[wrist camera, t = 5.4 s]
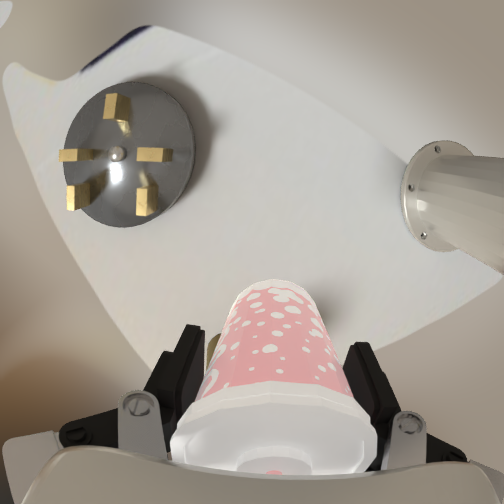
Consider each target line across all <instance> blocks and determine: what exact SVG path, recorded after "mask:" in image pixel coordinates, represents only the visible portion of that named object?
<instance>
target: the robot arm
mask: <svg viewBox="0 0 504 504" xmlns="http://www.w3.org/2000/svg"><path fill="white" fill-rule="evenodd" d="M434 148H435V149H434ZM408 185H409V189H408ZM401 207H402V213H403V216H404V220H405V222H406V224H407V227H408V229H409V231H410V232H411V233H412V235H413V236H414V238H416V239H417V240H418V241H419V242H420V243H421V244H423V245H424V246H426V247H427V248H429V249H432V250H434V251H438V252H451V251H454V250H456V249H460V250H462V251H463V252H465V253H467V254H469V255H470V256H472V257H474V258H476V259H477V260H479V261H481V262H483V263H484V264H486V265H488V266H489V267H491V268H493V269H494V270H496V271H498V272H499V273H501V274H502V275H504V158H496V157H484V156H483V157H482V156H474V155H473V154H472V153H471V152H470V151H469V150H468V149H467V148H466V147H464V146H462V145H461V144H459V143H456V142H452V141H436V142H432V143H429V144H427V145H425V146H424V147H422V148H421V149H420V150H419V151H418V152H417V153H416V154H415V155H414V156H413V158H412V159H411V161H410V162H409V164H408V166H407V168H406V171H405V173H404V176H403V181H402V186H401ZM204 343H205V331H204V330H201V329H200V326H196V325H189V324H187V325H186V327H185V329H184V331H183V333H182V335H181V337H180V339H179V341H178V344H177V346H176V348H175V350H174V352H169V351H163V353H162V354H161V356H160V358H159V360H158V362H157V364H156V366H155V368H154V370H153V372H152V374H151V376H150V378H149V380H148V382H147V384H146V386H145V388H144V390H143V391H141V390H135V391H130V392H128V393H126V394H124V395H123V396H122V397H121V398H120V400H119V403H118V408H116V409H113V410H110V411H107V412H103V413H100V414H97V415H93V416H89V417H86V418H82V419H78V420H75V421H71V422H69V423H66V424H65V425H64V426H62V428H61V429H60V431H59V432H58V433H53V431H48V432H43V433H38V434H33V435H28V436H22V437H17V438H12V439H9V440H8V441H6V442H5V443H4V446H3V452H2V453H3V458H4V464H5V468H6V472H7V477H8V481H9V485H10V489H11V493H12V496H13V500H14V503H15V504H502V500H503V497H504V474H503V473H501V472H499V471H497V470H494V469H492V468H490V467H487V466H485V465H482V464H480V463H477V462H475V461H473V460H470V461H469V462H468V461H467V458H466V456H465V454H464V453H463V452H462V451H461V450H460V449H458V448H456V447H454V446H452V445H450V444H448V443H445V442H444V441H442V440H440V439H438V438H436V437H434V436H432V435H430V434H428V433H426V422H425V421H424V419H423V418H422V417H421V416H420V415H419V414H417V413H415V412H412V411H401V409H400V406H399V404H398V402H397V399H396V397H395V395H394V393H393V390H392V388H391V386H390V384H389V382H388V379H387V377H386V375H385V373H384V372H382V370H381V368H380V366H379V363H378V361H377V359H376V357H375V355H374V352H373V350H372V348H371V346H370V344H369V343H368V342H355V344H354V345H351V346H350V348H349V351H348V354H347V357H346V360H345V363H344V366H343V368H342V369H343V372H344V374H345V377H346V379H347V382H348V384H349V387H350V389H351V392H352V394H353V397H354V399H355V400H356V401H357V403H358V404H359V405H360V406H361V407H362V408H363V409H364V410H365V412H366V413H367V414H368V415H369V416H370V424H371V425H372V426H373V427H374V428H375V430H376V434H377V456H376V458H375V459H374V460H373V462H372V463H371V464H370V465H369V467H368V468H367V469H366V471H365V472H362V473H350V474H333V475H276V474H259V473H247V472H237V471H229V470H221V469H214V468H208V467H202V466H196V465H190V464H185V463H180V462H175V461H170V460H168V455H167V453H168V452H170V451H171V448H170V440H171V437H172V435H173V434H174V432H175V431H176V430H177V423H178V422H179V420H180V419H181V417H182V416H183V415H184V413H185V412H186V411H187V409H188V408H189V406H190V405H191V404H192V403H193V402H195V399H196V397H197V394H198V392H199V389H200V387H201V384H202V381H203V379H204Z"/></svg>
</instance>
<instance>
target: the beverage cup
mask: <svg viewBox="0 0 504 504" xmlns="http://www.w3.org/2000/svg"><path fill="white" fill-rule="evenodd" d="M170 448H171V454H172V461H175V462H180V463H185V464H190V465H196V466H202V467H208V468H214V469H221V470H229V471H237V472H247V473H259V474H276V475H333V474H350V473H362V472H365V471H366V469H367V468H368V467H369V465H370V464H371V463H372V462H373V460H374V459H375V458H376V456H377V434H376V430H375V428H374V427H373V426H372V425H371V424H370V416H369V415H368V414H367V413H366V412H365V410H364V409H363V408H362V407H361V406H360V405H359V404H358V403H357V401H356V400H355V399H354V397H353V394H352V392H351V389H350V387H349V384H348V382H347V379H346V377H345V374H344V372H343V369H342V367H341V364H340V362H339V359H338V357H337V354H336V352H335V349H334V347H333V345H332V342H331V340H330V337H329V335H328V333H327V330H326V328H325V325H324V323H323V321H322V318H321V316H320V314H319V311H318V309H317V307H316V304H315V302H314V301H313V299H312V298H311V297H310V295H309V294H308V293H307V292H306V290H305V289H303V288H301V287H299V286H298V285H296V284H294V283H292V282H290V281H284V280H276V279H269V280H265V281H261V282H257V283H254V284H252V285H251V286H249V287H248V288H246V289H245V290H244V291H242V292H241V293H240V294H239V296H238V297H237V299H236V301H235V302H234V304H233V305H232V308H231V310H230V313H229V315H228V318H227V320H226V323H225V325H224V328H223V331H222V333H221V336H220V338H219V341H218V343H217V346H216V348H215V351H214V353H213V356H212V359H211V361H210V364H209V366H208V369H207V371H206V374H205V376H204V379H203V381H202V384H201V387H200V389H199V392H198V394H197V397H196V399H195V402H193V403H192V404H191V405H190V406H189V408H188V409H187V411H186V412H185V413H184V415H183V416H182V417H181V419H180V420H179V422H178V423H177V430H176V431H175V432H174V434H173V435H172V437H171V440H170Z"/></svg>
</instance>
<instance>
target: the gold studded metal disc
mask: <svg viewBox="0 0 504 504" xmlns="http://www.w3.org/2000/svg"><path fill="white" fill-rule="evenodd" d="M194 160H195V138H194V133H193V129H192V126H191V123H190V120H189V118H188V116H187V114H186V113H185V111H184V110H183V108H182V107H181V106H180V104H179V103H178V102H177V101H176V100H175V99H174V98H172V97H171V96H170V95H168V94H167V93H165V92H164V91H162V90H161V89H159V88H157V87H154V86H152V85H149V84H145V83H139V82H126V83H120V84H117V85H113V86H110V87H108V88H106V89H104V90H102V91H101V92H99V93H97V94H96V95H95V96H93V97H92V98H91V99H90V100H89V101H88V102H87V103H86V104H85V105H84V106H83V107H82V108H81V109H80V111H79V112H78V113H77V115H76V117H75V118H74V120H73V122H72V124H71V126H70V128H69V131H68V134H67V137H66V141H65V145H64V149H62V150H59V162H62V161H63V167H64V175H65V179H66V183H67V210H77V209H80V208H81V209H82V210H83V211H84V212H85V213H86V214H87V215H88V216H90V217H91V218H93V219H94V220H96V221H98V222H100V223H102V224H105V225H108V226H113V227H133V226H137V225H141V224H144V223H146V222H148V221H150V220H152V219H154V218H156V217H157V216H159V215H161V214H162V213H164V212H165V211H166V210H167V209H169V208H170V207H171V206H172V205H173V204H174V203H175V202H176V201H177V199H178V198H179V197H180V195H181V194H182V193H183V191H184V189H185V187H186V186H187V183H188V181H189V179H190V176H191V173H192V170H193V166H194Z"/></svg>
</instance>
